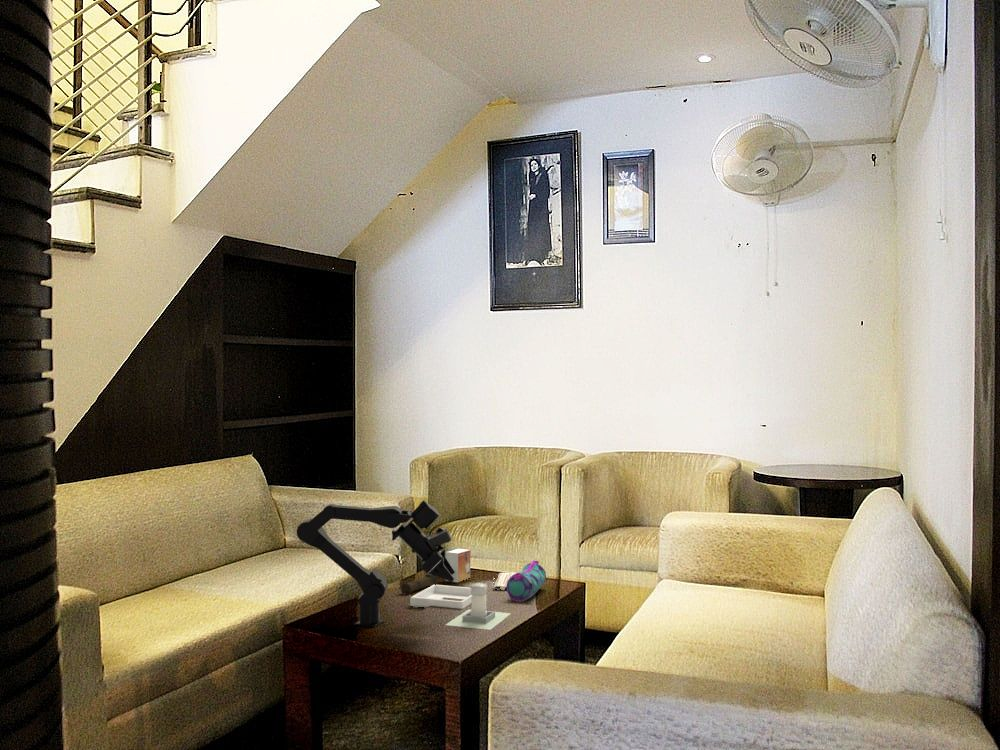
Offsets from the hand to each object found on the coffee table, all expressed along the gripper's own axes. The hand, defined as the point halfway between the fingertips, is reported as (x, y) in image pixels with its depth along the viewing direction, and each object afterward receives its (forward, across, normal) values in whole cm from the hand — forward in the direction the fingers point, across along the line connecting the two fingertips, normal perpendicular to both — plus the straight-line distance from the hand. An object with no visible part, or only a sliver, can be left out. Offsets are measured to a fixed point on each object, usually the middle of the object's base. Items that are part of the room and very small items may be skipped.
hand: (453, 576), depth 251 cm
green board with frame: (+15, 0, +4) cm, 16 cm away
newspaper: (+23, +48, -3) cm, 54 cm away
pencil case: (+27, +32, -7) cm, 42 cm away
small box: (+10, +55, +9) cm, 56 cm away
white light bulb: (+14, 0, +4) cm, 15 cm away
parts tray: (+8, +24, +11) cm, 27 cm away
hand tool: (+1, +43, +19) cm, 47 cm away
